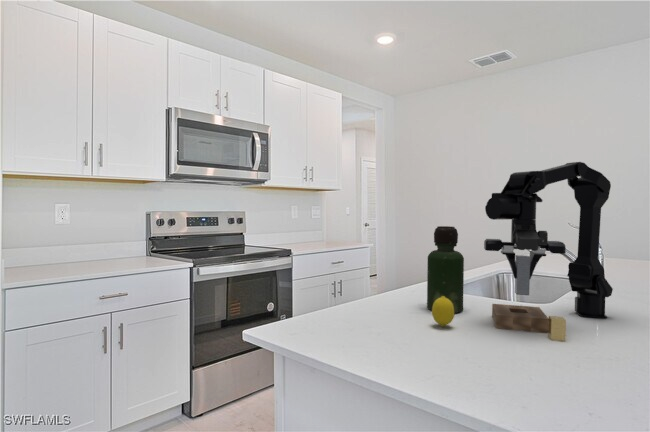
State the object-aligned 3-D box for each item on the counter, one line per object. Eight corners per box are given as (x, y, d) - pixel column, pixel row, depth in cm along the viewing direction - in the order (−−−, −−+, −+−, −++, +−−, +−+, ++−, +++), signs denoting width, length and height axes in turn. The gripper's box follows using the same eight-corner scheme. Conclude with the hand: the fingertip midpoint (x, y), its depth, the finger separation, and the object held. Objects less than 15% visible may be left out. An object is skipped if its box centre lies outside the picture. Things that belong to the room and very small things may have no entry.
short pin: (562, 337, 97) (562, 316, 97) (565, 341, 94) (565, 320, 94) (548, 336, 98) (548, 315, 98) (551, 340, 95) (551, 319, 95)
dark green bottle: (462, 315, 116) (463, 228, 115) (425, 312, 119) (426, 227, 118) (463, 306, 125) (464, 226, 125) (428, 303, 129) (429, 225, 128)
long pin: (527, 293, 108) (528, 255, 108) (529, 295, 105) (530, 257, 105) (514, 292, 109) (515, 255, 109) (516, 294, 106) (517, 256, 106)
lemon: (455, 330, 102) (455, 299, 102) (432, 329, 103) (432, 298, 103) (452, 324, 107) (453, 294, 107) (431, 323, 108) (431, 293, 108)
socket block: (539, 319, 112) (539, 307, 112) (548, 332, 100) (548, 318, 100) (492, 315, 115) (492, 303, 115) (495, 328, 104) (496, 314, 104)
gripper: (488, 219, 102) (486, 281, 102) (572, 221, 96) (570, 287, 96) (484, 218, 112) (483, 274, 113) (560, 219, 107) (558, 278, 107)
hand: (522, 278), depth 107 cm, fingers closed on long pin, 3 cm apart
